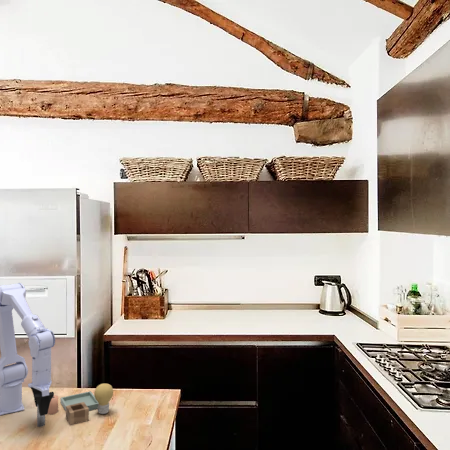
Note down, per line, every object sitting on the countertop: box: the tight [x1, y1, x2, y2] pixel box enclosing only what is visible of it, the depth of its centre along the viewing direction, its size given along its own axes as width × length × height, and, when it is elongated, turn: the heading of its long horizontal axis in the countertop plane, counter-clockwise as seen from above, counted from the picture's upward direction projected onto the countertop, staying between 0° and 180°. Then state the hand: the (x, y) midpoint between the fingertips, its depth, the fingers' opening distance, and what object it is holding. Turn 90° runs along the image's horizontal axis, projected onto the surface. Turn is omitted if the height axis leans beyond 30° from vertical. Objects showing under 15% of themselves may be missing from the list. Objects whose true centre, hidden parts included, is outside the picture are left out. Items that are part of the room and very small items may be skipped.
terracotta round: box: [47, 394, 59, 415], centre depth 145 cm, size 4×4×5 cm
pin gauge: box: [36, 404, 46, 428], centre depth 136 cm, size 2×2×7 cm
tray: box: [59, 390, 99, 412], centre depth 151 cm, size 12×11×2 cm
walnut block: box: [65, 402, 90, 426], centre depth 140 cm, size 6×6×4 cm
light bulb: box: [93, 383, 114, 415], centre depth 145 cm, size 6×6×10 cm
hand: (41, 410), depth 136 cm, fingers open, 7 cm apart
